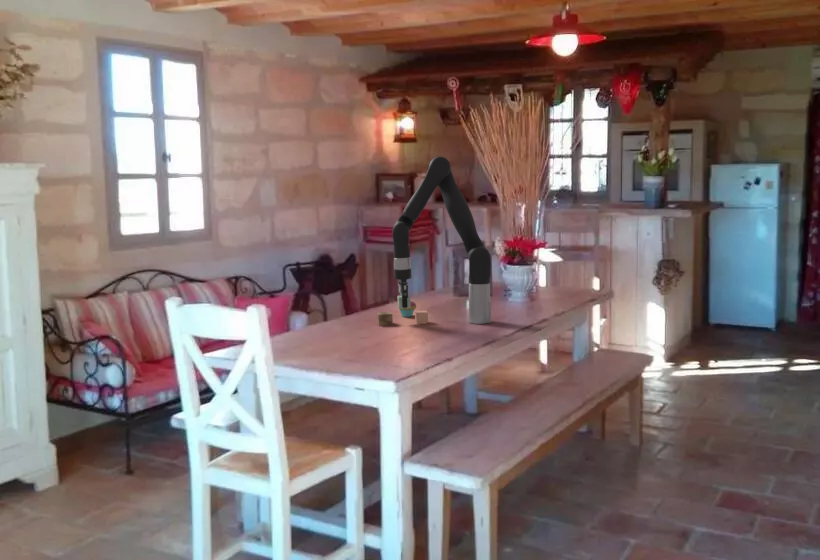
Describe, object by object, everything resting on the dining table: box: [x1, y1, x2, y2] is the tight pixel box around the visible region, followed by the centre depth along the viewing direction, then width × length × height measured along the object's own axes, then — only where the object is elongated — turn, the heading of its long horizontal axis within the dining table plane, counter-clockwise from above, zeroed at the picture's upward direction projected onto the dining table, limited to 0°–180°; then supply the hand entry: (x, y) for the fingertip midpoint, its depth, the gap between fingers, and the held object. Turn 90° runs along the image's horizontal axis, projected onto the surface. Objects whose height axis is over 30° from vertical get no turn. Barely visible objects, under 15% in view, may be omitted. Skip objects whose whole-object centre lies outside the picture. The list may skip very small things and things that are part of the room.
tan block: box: [414, 310, 429, 325], centre depth 377 cm, size 5×5×5 cm
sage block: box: [396, 294, 411, 310], centre depth 375 cm, size 5×5×5 cm
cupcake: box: [398, 300, 417, 318], centre depth 393 cm, size 9×8×12 cm
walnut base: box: [377, 311, 394, 327], centre depth 375 cm, size 6×6×5 cm
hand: (404, 306), depth 375 cm, fingers closed on sage block, 5 cm apart
